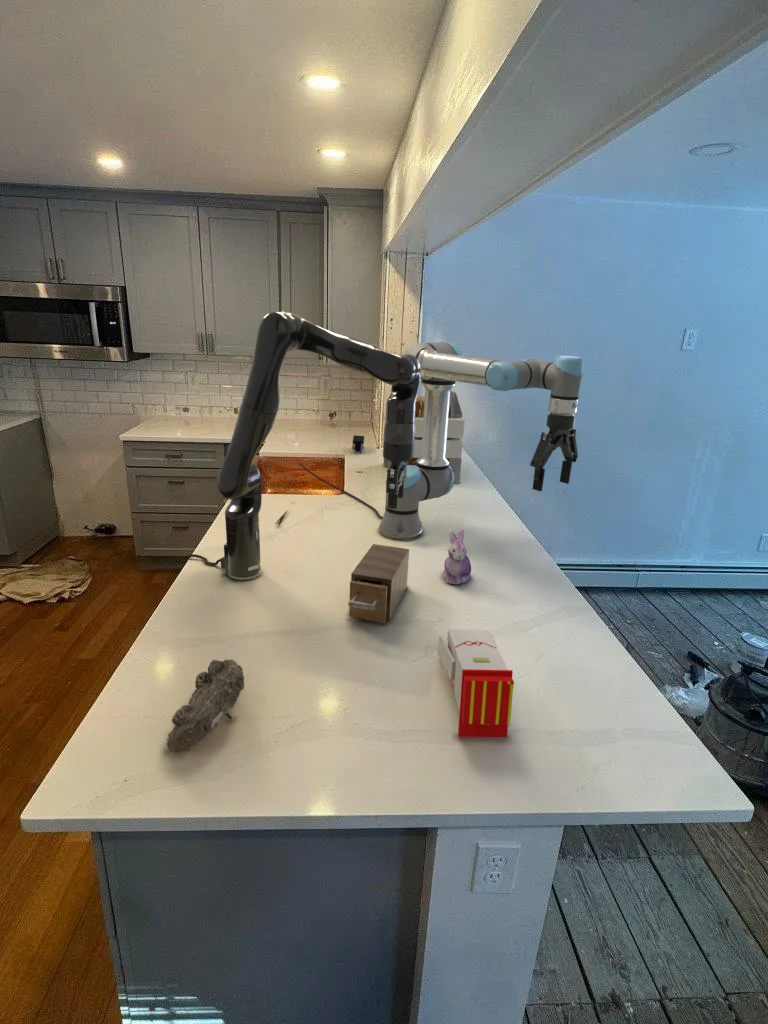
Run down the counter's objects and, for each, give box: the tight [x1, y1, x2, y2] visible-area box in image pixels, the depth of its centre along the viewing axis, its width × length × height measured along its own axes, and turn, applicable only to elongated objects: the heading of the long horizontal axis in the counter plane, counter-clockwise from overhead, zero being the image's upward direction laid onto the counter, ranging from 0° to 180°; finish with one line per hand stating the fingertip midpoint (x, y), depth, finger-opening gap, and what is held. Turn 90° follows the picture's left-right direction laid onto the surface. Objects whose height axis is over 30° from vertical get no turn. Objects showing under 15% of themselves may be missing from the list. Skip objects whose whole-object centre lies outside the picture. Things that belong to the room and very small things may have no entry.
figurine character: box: [351, 435, 365, 454], centre depth 310 cm, size 7×8×15 cm
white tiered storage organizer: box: [383, 389, 465, 484], centre depth 268 cm, size 34×33×41 cm
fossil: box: [166, 658, 245, 754], centre depth 106 cm, size 22×10×15 cm
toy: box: [437, 628, 515, 738], centre depth 117 cm, size 12×13×30 cm
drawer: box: [347, 578, 387, 624], centre depth 146 cm, size 24×9×10 cm, turn 165°
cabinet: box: [350, 543, 410, 622], centre depth 152 cm, size 20×10×12 cm, turn 165°
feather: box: [274, 510, 288, 528], centre depth 213 cm, size 2×28×2 cm
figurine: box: [442, 529, 472, 585], centre depth 166 cm, size 9×10×15 cm
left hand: (395, 502), depth 143 cm, fingers open, 8 cm apart
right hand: (550, 486), depth 165 cm, fingers open, 13 cm apart
